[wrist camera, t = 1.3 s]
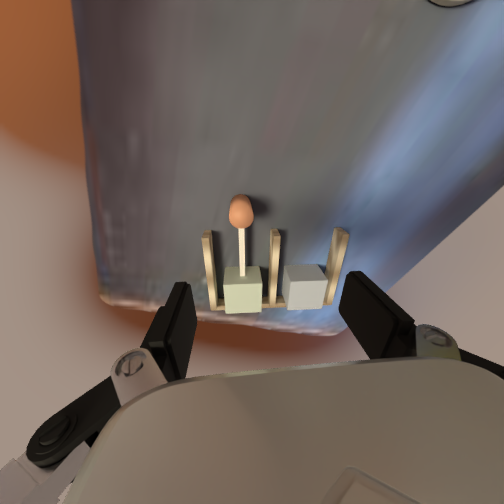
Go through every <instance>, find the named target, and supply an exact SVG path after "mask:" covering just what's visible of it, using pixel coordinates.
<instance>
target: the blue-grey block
mask: <svg viewBox="0 0 504 504" xmlns="http://www.w3.org/2000/svg"><path fill="white" fill-rule="evenodd" d="M327 283H328V279H327V278H326V276H325V275H324V274H323V272H322V271H321V269H320V268H319V266H318V265H317V264H307V265H284V273H283V284H282V294H283V297H284V301H285V304H286V307H287V310H302V309H322V305H323V301H324V296H325V292H326V287H327Z"/></svg>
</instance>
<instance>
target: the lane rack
mask: <svg viewBox="0 0 504 504" xmlns="http://www.w3.org/2000/svg"><path fill="white" fill-rule="evenodd" d="M349 235H350V234H348V233H347V232H346V231H344V230H343V229H342V228H340V227H336V228H334V232H333V237H332V241H331V246H330V251H329V255H328V260H327V265H326V270H325V274H324V275H325V276H326V278H327V279H328V283H327V287H326V292H325V296H324V301H323V305H332V301H333V297H334V293H335V289H336V286H337V282H338V278H339V274H340V270H341V266H342V262H343V258H344V254H345V250H346V247H347V243H348V239H349ZM280 238H281V236H280V234H279V232H278V230H277V229H271V236H270V256H269V276H268V295H267V297H262V307H261V308H274V307H286V304H285V301H284V297H283V296H276V290H277V277H278V264H279V251H280ZM202 244H203V252H204V260H205V267H206V275H207V283H208V291H209V298H210V306H211V310H225V299H224V298H219V299H218V292H217V282H216V272H215V263H214V253H213V243H212V233H211V230H205V231H204V234H203V236H202Z"/></svg>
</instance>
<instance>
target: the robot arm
mask: <svg viewBox="0 0 504 504" xmlns="http://www.w3.org/2000/svg"><path fill="white" fill-rule="evenodd" d="M430 1H432V2H434V3H436V4H438V5H442V6H456V5H462V4H464V3H466V2H469V1H471V0H430ZM339 313H340V315H341V316H342V318H343V319H344V321H345V322H346V324H347V325H348V327H349V328H350V330H351V331H352V333H353V334H354V336H355V337H356V339H357V340H358V342H359V343H360V345H361V346H362V348H363V349H364V351H365V352H366V354H367V355H368V357H369V358H370V360H361V361H348V362H337V363H326V364H315V365H305V366H295V367H284V368H273V369H263V370H253V371H244V372H233V373H225V374H216V375H208V376H199V377H192V378H186V379H185V377H186V373H187V368H188V363H189V358H190V354H191V349H192V345H193V340H194V335H195V331H196V326H197V316H196V311H195V306H194V301H193V295H192V290H191V285H190V284H187V282H176V283H175V284H174V287H173V289H172V291H171V293H170V296H169V298H168V300H167V302H166V304H165V306H161V307H160V308H159V309H158V311H157V313H156V315H155V317H154V319H153V322H152V324H151V326H150V328H149V330H148V332H147V334H146V336H145V338H144V340H143V342H142V345H141V346H140V348H135V349H132V350H130V351H127V352H126V353H124V354H123V355H122V356H120V357H119V358H118V359H117V360H116V361H115V363H114V365H113V366H112V368H111V376H109V377H108V378H107V379H105V380H104V381H102V382H101V383H99V384H98V385H97V386H95V387H94V388H92V389H91V390H89V391H88V392H86V393H85V394H84V395H82V396H81V397H79V398H78V399H76V400H75V401H73V402H72V403H70V404H69V405H67V406H66V407H65V408H63V409H62V410H60V411H59V412H57V413H56V414H54V415H53V416H52V417H50V418H49V419H48V420H47V421H45V422H44V423H43V424H42V425H41V426H40V428H38V429H37V431H36V432H35V433H34V435H33V436H32V438H31V439H30V441H29V443H28V446H27V450H26V451H25V452H24V453H23V454H22V455H21V456H20V457H19V458H18V459H17V460H15V459H12V460H10V461H9V462H8V463H7V464H6V465H5V466H4V467H3V468H2V469H1V470H0V504H57V503H58V501H60V500H59V499H58V497H59V496H60V495H61V493H62V492H63V491H64V490H65V489H66V487H67V486H68V485H69V484H70V483H72V482H73V483H72V485H71V487H70V489H69V491H68V493H67V495H66V497H65V499H64V501H63V503H62V504H504V366H501V365H499V364H496V363H494V362H491V361H489V360H486V359H484V358H481V357H479V356H477V355H474V354H472V353H469V352H467V351H464V350H462V349H459V348H458V345H457V343H456V341H455V340H454V339H453V337H452V336H450V335H449V334H448V333H447V332H445V331H443V330H441V329H439V328H437V327H435V326H431V325H426V324H422V325H418V326H416V325H415V324H413V323H414V321H415V320H414V319H413V318H412V317H410V315H408V314H407V313H406V312H405V311H404V310H403V309H402V308H401V307H400V306H398V305H397V304H396V303H395V302H394V301H393V300H392V299H391V298H390V297H389V296H388V295H387V294H386V293H385V292H383V291H382V290H381V289H380V288H379V287H378V286H377V285H376V284H375V283H374V282H373V281H371V280H370V279H369V278H368V277H367V276H366V275H365V274H364V273H363V272H361V271H351V272H349V274H347V275H346V279H345V283H344V287H343V292H342V296H341V300H340V304H339Z"/></svg>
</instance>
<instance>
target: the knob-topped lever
mask: <svg viewBox="0 0 504 504" xmlns="http://www.w3.org/2000/svg"><path fill="white" fill-rule="evenodd" d="M253 218H254V216H253V211H252V207H251V203H250V200H249V198H248V197H247V196H245V195H242V194H239V195H236V196H234V197H233V198H232V200H231V204H230V213H229V220H230V222H231V224H232V225H233V226H234V227H236V228H239V256H240V267H225V273H224V283H223V287H224V299H225V311H226V314H228V313H249V312H261V307H262V279H261V273H260V268H259V266H247V267H245V244H244V228H247V227H248V226H250V225H251V223H252V222H253Z"/></svg>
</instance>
